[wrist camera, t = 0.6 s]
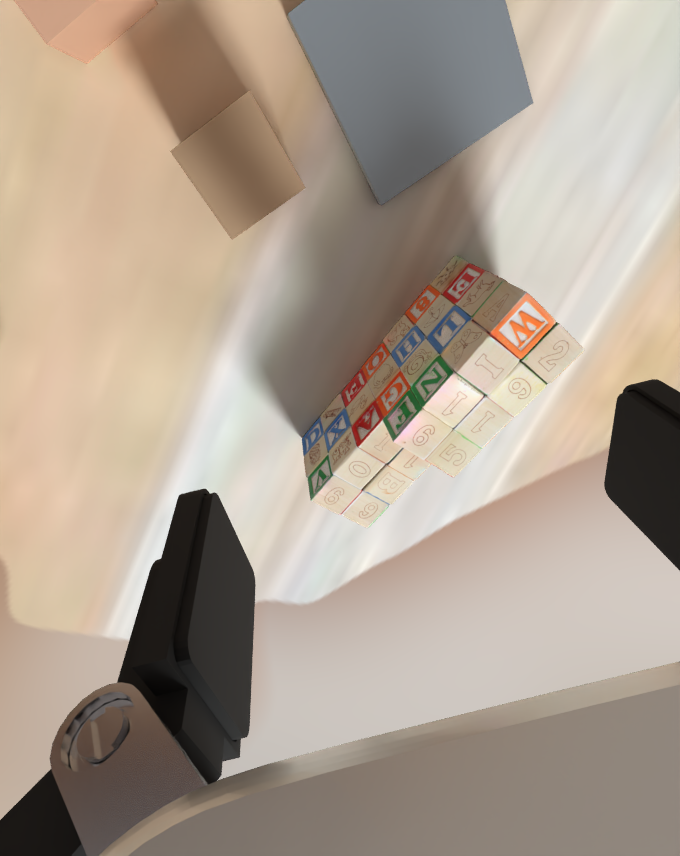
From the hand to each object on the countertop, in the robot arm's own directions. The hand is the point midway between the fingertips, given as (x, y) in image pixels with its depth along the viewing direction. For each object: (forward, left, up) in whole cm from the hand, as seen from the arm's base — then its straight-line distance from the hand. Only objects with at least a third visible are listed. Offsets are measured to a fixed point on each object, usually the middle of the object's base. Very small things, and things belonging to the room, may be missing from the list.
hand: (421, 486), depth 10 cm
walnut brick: (-1, +7, -29) cm, 30 cm away
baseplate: (+12, +6, -29) cm, 32 cm away
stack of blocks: (+1, -13, -29) cm, 32 cm away
